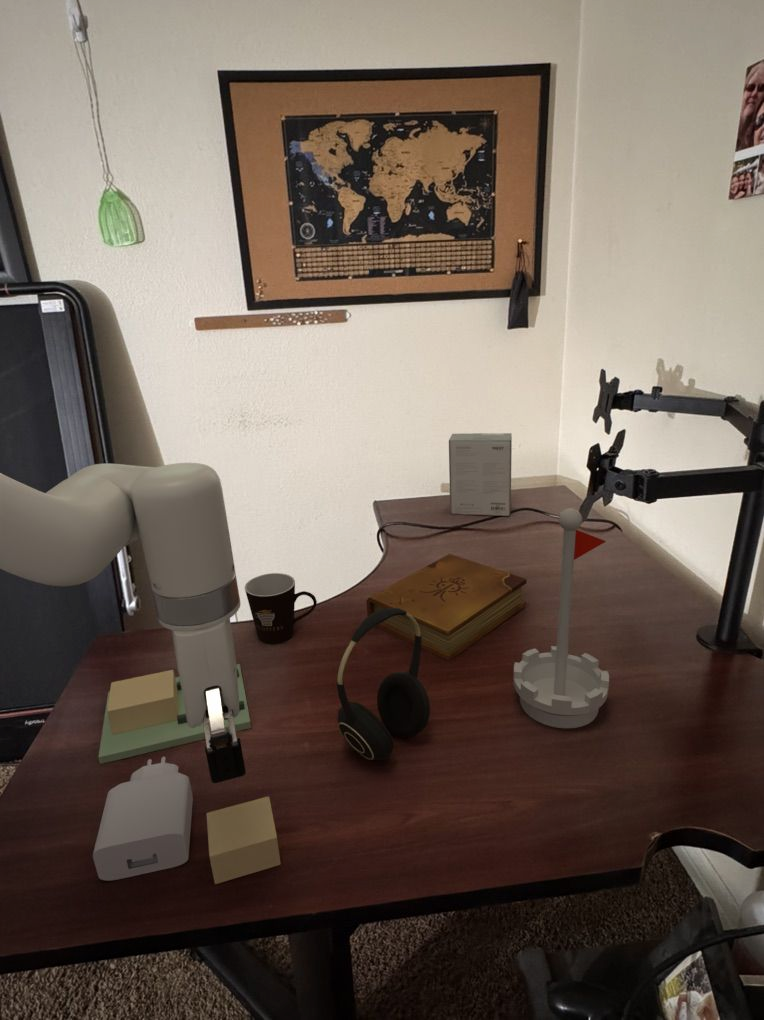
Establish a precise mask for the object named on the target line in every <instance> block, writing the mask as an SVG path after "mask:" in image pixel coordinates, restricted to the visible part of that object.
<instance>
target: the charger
mask: <svg viewBox="0 0 764 1020" xmlns="http://www.w3.org/2000/svg"><path fill="white" fill-rule="evenodd" d="M166 759H167V758H166V756H162V757H161V760H160V762H158V763H154V764H152V762H153V760H152V759H151V758H150V759H148V760H147V763H146V765H143V766H142V767H140V768H138V769H137V770H134V772H132V774H131V775H130V779H129V781H126V782H120V783H119V784H117V785H115V786H114V787H113V788H111V789H110V790H108V791H107V794H106V795H107V796H106V799H105V802H104V803H105V804H104V808H103V813H102V815H101V820H100V824H99V827H98V828H99V829H98V832H97V836H96V841H95V845H94V849H93V851H92V859H93V862H94V866H95V870H96V874H97V876H98V879H99V880H102V881H116V880H117V881H118V880H122V879H126V878H131V877H135V876H140V875H145V874H149V873H154V872H159V871H163V870H167V869H173V868H176V867H179V866H182V865H184V864H185V863H187V861H188V860H189V856H190V845H191V844H190V843H191V842H190V841H191V832H192V831H191V828H192V816H193V804H194V803H193V802H194V796H193V795H194V794H193V790H192V785H191V780H190V777H189V776H188V775H185V774H184V773H180V772H179V768H180V767H179V766H178V765H177V764H174V763H169V762H166Z"/></svg>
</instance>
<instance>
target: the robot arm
mask: <svg viewBox="0 0 764 1020" xmlns="http://www.w3.org/2000/svg"><path fill="white" fill-rule="evenodd" d="M228 523H229V522H228V517H227V510H226V505H225V497H224V491H223V487H222V481H221V478H220V476H219V474H218V473H217V471H216V470H215V469H214V468H212V467H211V466H209V465H207V464H204V463H199V462H198V463H197V462H177V463H170V464H165V465H160V466H144V465H143V466H142V465H132V464H124V463H123V464H122V463H111V462H110V463H108V462H107V463H95V464H90V465H87V466H85V467H82V468H81V469H79V470H78V471H76V472H74V473H73V474H71V475H70V476H69V477H67V478H66V479H63V480H62V481H60V482H59V483H58V484H57V485H55V486H54V487H52V488H51V489H49V490H48V491H46V492H43V491H40V490H38V489H36V488H33V487H31V486H29V485H27V484H25V483H22V482H20V481H18V480H15V479H14V478H12V477H9V476H7V475H5V474H4V473H1V472H0V570H2V571H4V572H6V573H9V574H11V575H14V576H16V577H18V578H22V579H25V580H27V581H30V582H34V583H37V584H38V583H39V584H42V585H46V586H53V587H71V586H78V585H82V584H84V583H87V582H90V581H91V580H92V579H94V578H96V577H97V576H99V574H101V573H102V572H104V570H105V569H106V568H107V567H108V566H109V565H110V564H111V563H112V562H113V560H114V559H115V558H116V557H117V556H118V555H119V554H120V552H121V551H122V550H123V549H124V548H125V547H126V546H128V545H130V544H132V543H134V542H135V541H140V542H141V546H142V551H143V556H144V560H145V565H146V569H147V573H148V578H149V582H150V587H151V592H152V597H153V602H154V607H155V612H156V616H157V621H158V623H159V624H160V625H161V626H162V627H163V628H164V629H167V630H171V635H172V644H173V650H174V655H175V656H174V657H175V662H176V667H177V673H178V677H179V679H180V684H181V689H182V695H183V700H184V706H185V712H186V718H187V724H188V725H189V726H190V727H191V728H195V727H196V726H201V724H202V722H203V725H204V732H205V739H204V740H205V744H206V746H204V751H205V756H206V761H207V764H208V771H209V775H210V781H211V783H213V784H218V783H222V782H225V781H229V780H233V779H236V778H241V777H244V776H245V775H246V773H247V772H246V766H245V765H246V764H245V760H244V753H243V749H242V743H241V738H240V737H238V735H237V732H236V730H235V723H234V718H235V717H236V716H237V715H238V713H239V712H240V711H239V693H238V678H237V667H236V665H237V659H236V651H235V644H234V635H233V630H232V623H231V619H232V617H234V616H235V615H236V614H237V613H238V611H239V609H240V607H241V597H240V591H239V585H238V580H237V574H236V573H237V572H236V567H235V560H234V554H233V547H232V542H231V535H230V530H229V524H228ZM224 720H228V723H229V729H230V733H229V732H227V733H226V728H225V722H224Z"/></svg>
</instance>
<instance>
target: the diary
mask: <svg viewBox="0 0 764 1020" xmlns="http://www.w3.org/2000/svg"><path fill="white" fill-rule="evenodd" d="M525 585H527V578H524V577H522V576H519V575H515V574H512V573H510V572H507V571H503V570H501V569H497V568H495V567H491V566H488V565H485V564H483V563H479V562H476V561H472V560H470V559H466V558H463V557H461V556H458V555H455V554H451V553H448V554H446V555H444V556H443V557H441V558H439V559H437V560H435V561H433V562H432V563H429V564H428V565H426V566H425V567H423V568H421V569H418V570H417V571H415V572H413V573H411V574H409V575H408V576H406V577H404V578H402V579H400V580H399V581H397V582H395V583H393V584H391V585H389V586H387V587H386V588H384V589H382V590H380V591H377V592H376V593H374V594H373V595H370V596H369V597H367V599H366V600H365V602H366V615H367V616H366V618H367V617H368V616H370V615H371V614H372V613H374V612H376V611H379V610H381V609H385V608H399V609H402V610H404V611H406V612H407V613H408V614H410V615H411V616H412V617H413V618H414V619H415V620H416V622H417V623H418V626H419V629H420V634H421V650H424V651H426V652H429V653H430V654H433V655H435V656H436V657H439V658H441V659H443V660H446V661H448V662H450V661H451V660H453V659H454V658H456V657H457V656H458V655H459V654H461V653H463V652H464V651H465V650H467V649H468V648H469V647H471V646H472V645H473V644H475V643H476V642H478V641H480V639H482V638H484V637H485V636H486V635H487V634H488V633H490V632H491V631H493V630H494V629H495V628H497V627H498V626H499V625H502V624H503V623H504V622H505V621H507V620H508V619H510V618H511V617H512V616H514V615H515V614H516V613H518V612H519V611H521V610H522V609H523V608H524V607H526V606H527V601H526V600H523V599H522V587H523V586H525ZM374 627H376V628H377V629H379V630H382V631H383V632H386V633H388V634H390V635H393V636H395V637H396V638H399V639H401V640H403V641H405V642H407V643H410V644H412V645H414V643H415V634H416V630H415V626H414V624H413V622H412V621H411V620H410V619H409V618H408V617H407V616H403V615H396V616H392V617H390V618H388V619H387V620H385V621H383V622H381V623H379V624H377V625H376V626H374Z"/></svg>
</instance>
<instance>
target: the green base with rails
mask: <svg viewBox="0 0 764 1020" xmlns="http://www.w3.org/2000/svg"><path fill="white" fill-rule="evenodd" d="M236 667H237V678H238V693H239V711H240V712H239V713H238V715H237V716H236V717H235V718H234V723H235V730H236V733H237V732H240V731H241V732H242V731H244V730H249V729H252V724H251V717H250V711H249V706H248V701H247V697H246V696H247V695H246V691H245V683H244V678H243V673H242V668H241V664H240V663H236ZM224 722H225V728H226V733H227V732H229V733H230V729H229V723H228V720H224ZM202 740H206V739H205V732H204V725H203V722H202V724H201V726H196V727H195V728H191V727H190V726H189V725H188V724H187V718H186V712H185V706H184V700H183V695H182V689H181V684H180V679H179V676H176V675H175V670H174V669H169V670H164V671H161V672H160V671H159V672H154V673H149V674H146V675H142V676H136V677H131V678H126V679H121V680H116V681H112V682H111V683H110V690H109V691H108V692H107V698H106V703H105V711H104V717H103V725H102V731H101V736H100V744H99V749H98V761H99V764H100V765H103V764H107V763H110V762H116V761H120V760H123V759H127V758H132V757H135V756H140V755H144V754H148V753H153V752H157V751H161V750H166V749H169V748H173V747H177V746H181V745H182V746H183V745H186V744H190V743H191V744H192V743H194V742H199V741H202Z"/></svg>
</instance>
